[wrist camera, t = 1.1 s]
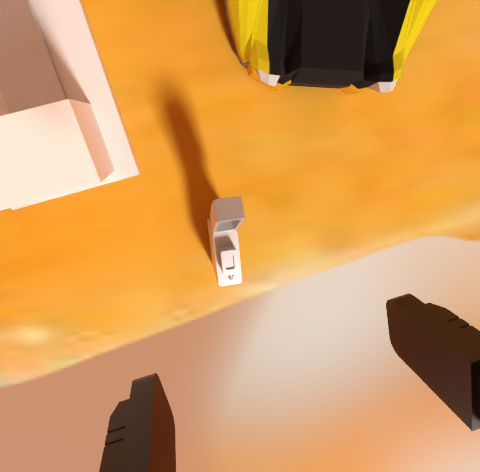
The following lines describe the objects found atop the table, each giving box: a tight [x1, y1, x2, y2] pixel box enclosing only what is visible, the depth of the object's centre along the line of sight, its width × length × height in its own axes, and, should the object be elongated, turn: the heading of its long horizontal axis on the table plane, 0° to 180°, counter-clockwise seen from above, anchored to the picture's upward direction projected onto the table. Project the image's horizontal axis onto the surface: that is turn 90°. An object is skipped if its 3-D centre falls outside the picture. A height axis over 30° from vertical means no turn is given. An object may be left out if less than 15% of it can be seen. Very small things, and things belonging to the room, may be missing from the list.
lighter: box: [207, 197, 245, 287], centre depth 26 cm, size 7×2×8 cm, turn 5°
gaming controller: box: [224, 0, 437, 94], centre depth 24 cm, size 15×6×10 cm
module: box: [0, 99, 115, 211], centre depth 22 cm, size 6×4×6 cm
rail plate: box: [0, 0, 141, 210], centre depth 23 cm, size 9×20×1 cm, turn 14°
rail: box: [0, 0, 68, 114], centre depth 22 cm, size 4×19×1 cm, turn 15°
